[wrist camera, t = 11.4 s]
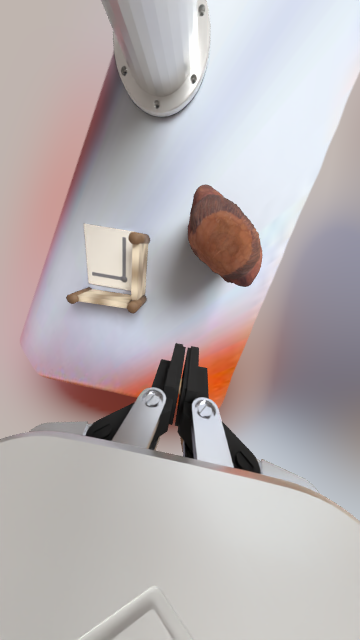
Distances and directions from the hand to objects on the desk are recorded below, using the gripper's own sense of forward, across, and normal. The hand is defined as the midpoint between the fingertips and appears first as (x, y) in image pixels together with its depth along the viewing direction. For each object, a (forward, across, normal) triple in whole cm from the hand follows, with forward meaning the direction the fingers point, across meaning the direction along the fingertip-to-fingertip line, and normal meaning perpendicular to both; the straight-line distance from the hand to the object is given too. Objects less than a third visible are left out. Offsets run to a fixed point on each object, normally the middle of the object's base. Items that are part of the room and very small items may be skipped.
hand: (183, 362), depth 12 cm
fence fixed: (+25, +11, -1) cm, 27 cm away
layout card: (+25, +18, -2) cm, 31 cm away
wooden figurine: (+25, -2, -8) cm, 27 cm away
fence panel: (+25, +18, +5) cm, 31 cm away
